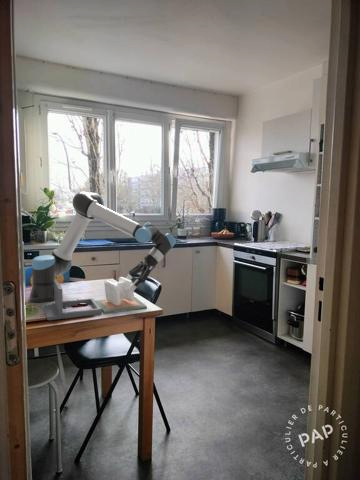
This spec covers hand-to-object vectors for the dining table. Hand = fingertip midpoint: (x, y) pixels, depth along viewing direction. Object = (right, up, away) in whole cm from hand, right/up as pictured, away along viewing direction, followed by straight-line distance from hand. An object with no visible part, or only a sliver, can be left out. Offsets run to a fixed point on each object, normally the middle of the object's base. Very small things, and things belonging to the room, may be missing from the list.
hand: (126, 287), depth 181 cm
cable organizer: (-3, -8, 0) cm, 9 cm away
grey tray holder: (-25, -10, -11) cm, 29 cm away
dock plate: (-3, -9, 0) cm, 10 cm away
